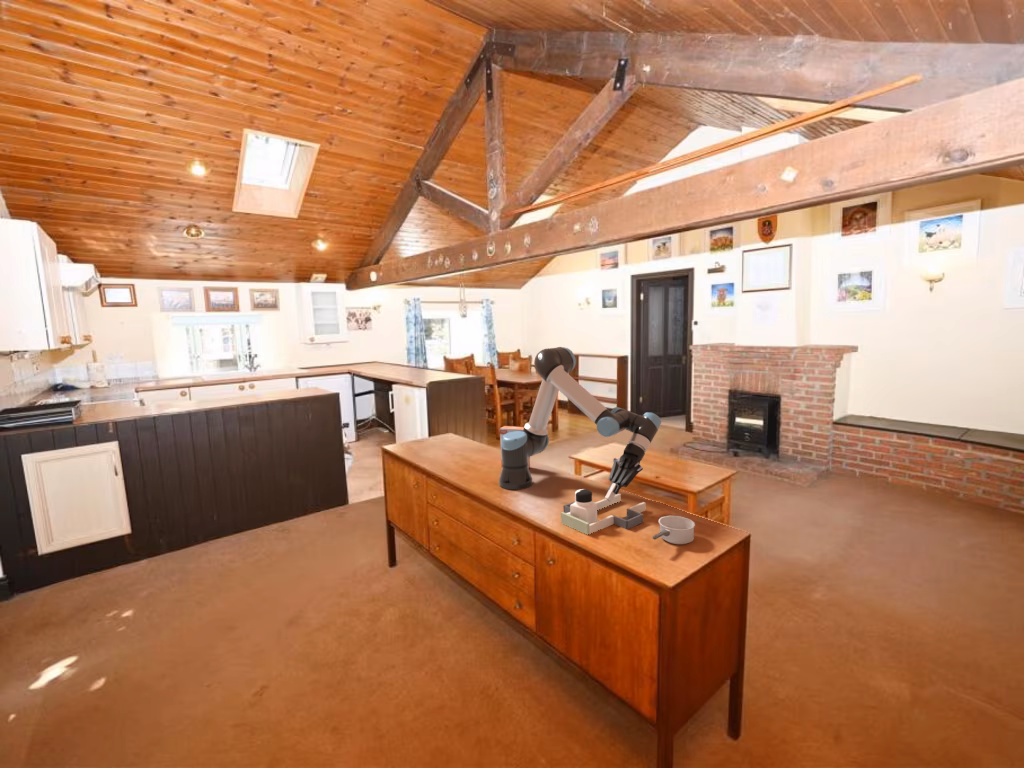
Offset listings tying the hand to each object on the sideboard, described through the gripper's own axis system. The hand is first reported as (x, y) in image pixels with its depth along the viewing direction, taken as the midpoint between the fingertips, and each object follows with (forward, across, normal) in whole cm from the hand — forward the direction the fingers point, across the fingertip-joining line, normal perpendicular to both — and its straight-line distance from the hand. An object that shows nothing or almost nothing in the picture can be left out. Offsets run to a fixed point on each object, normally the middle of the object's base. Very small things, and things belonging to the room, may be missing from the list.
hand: (608, 499), depth 172 cm
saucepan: (+6, -28, -3) cm, 29 cm away
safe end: (+17, 0, +8) cm, 19 cm away
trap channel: (+5, 0, -3) cm, 6 cm away
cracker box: (-3, +71, -12) cm, 72 cm away
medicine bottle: (+13, +1, +4) cm, 13 cm away
